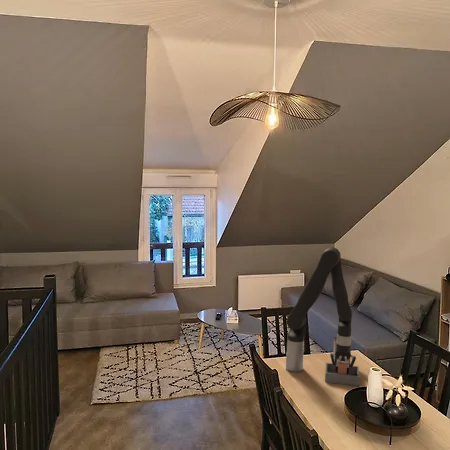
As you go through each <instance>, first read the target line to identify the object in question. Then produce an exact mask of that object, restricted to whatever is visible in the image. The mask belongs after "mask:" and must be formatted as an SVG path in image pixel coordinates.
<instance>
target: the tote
mask: <svg viewBox="0 0 450 450" xmlns="http://www.w3.org/2000/svg"><path fill="white" fill-rule="evenodd" d="M335 370H336V366H335V365H333V364H332V362H325V369H324V372H325V373H324V374H325V375H324V383H329V384H330V383H331V384H338V385H345V386H354V387H360V380H361V376H360V368H359V366H357V365H356V366H355V365H353V367H350V368H349V373H347V374H346V375H342V374H338V373H337V372H336V371H335Z"/></svg>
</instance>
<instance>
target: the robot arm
mask: <svg viewBox="0 0 450 450" xmlns="http://www.w3.org/2000/svg"><path fill="white" fill-rule="evenodd" d="M341 259H342V258H341V252H340V250H339V249H338V248H336V247H334V246H330V247H327V248H325V250H324V251H323V252H322V253H321V255H320V259H319V261H318V263H317V266H316V268H315V270H314V271H313V273H312V274H311V275H310V276H309V279H308V280H307V281H306V283H305V285H304V287H303V289H302V291H301V293H300V295H299V298H298V299H297V302H296V304H295V305H294V307H293V309H292V310H291V312H290V313H289V314H288V316H287V317H286V325H287V327H288V329H289V331H288V333H287V340H286V341H287V343H286V355H285V356H286V358H285V359H286V361H285V362H286V363H285V371H288V372H289V371H290V372H293V373H294V372H295V373H299V372H301V371H303V369H304V348H305V337H306V332H307V331H306V329H307V316H306V315H307V314H308V312H309V310H310V309H311V308H312V306H314V304H316V301H317V300H318V299H319V297H320V295H321V293H322V292H323V290H324V288H325V285H326V282H327V279H328V277H329V275H330V277H331V286H332V287H331V288H332V293H333V296H334V300H335V304H336V309H337V315H338V324H337V325H338V326H337V335H336V337H337V340H336V341H337V343H336V352H335V353H333V352H331V353H330V354H329V355H330V361H331V363H332V364H333V365H335V366H336V370H335V371H336V372H337V373H338V363H340V361H344V362H346V364H347V373H349V368H350V367H353V366H355V365H354V364H355V362H356V359H357V357H356V355H353V354H351V353H352V318H353V310H352V308H351V306H350V303H349V294H348V291H347V287H346V282H345V279H344V275H343V269H342V260H341ZM350 351H351V353H350ZM335 355H336V357H337V358H338V359H337V362H335V361H334V356H335ZM349 358H350V364H349V363H348V359H349Z"/></svg>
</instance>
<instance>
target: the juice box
mask: <svg viewBox="0 0 450 450" xmlns="http://www.w3.org/2000/svg"><path fill="white" fill-rule="evenodd" d="M338 374H342V375H346V374H347V364H346V362H344V361H340V363H338Z"/></svg>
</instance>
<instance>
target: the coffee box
mask: <svg viewBox="0 0 450 450" xmlns="http://www.w3.org/2000/svg"><path fill="white" fill-rule="evenodd" d="M336 340H337V336H335V337H333V352H332V353H335V352H336V343H337V341H336ZM350 353H352V350H351V351H350ZM337 359H338V358H337V357H336V355H335V356H334V361H335V362H337ZM348 363H349V364H351V357H350V358H349V359H348Z"/></svg>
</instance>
